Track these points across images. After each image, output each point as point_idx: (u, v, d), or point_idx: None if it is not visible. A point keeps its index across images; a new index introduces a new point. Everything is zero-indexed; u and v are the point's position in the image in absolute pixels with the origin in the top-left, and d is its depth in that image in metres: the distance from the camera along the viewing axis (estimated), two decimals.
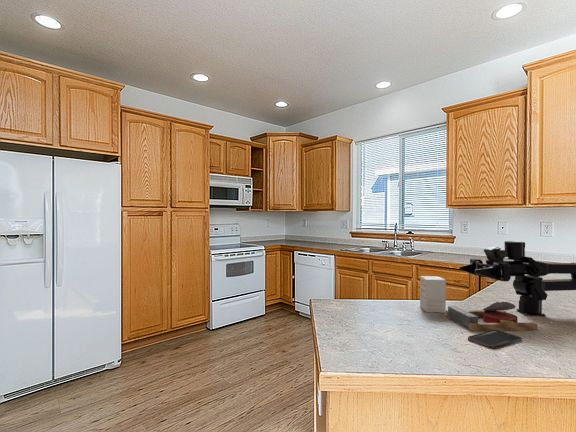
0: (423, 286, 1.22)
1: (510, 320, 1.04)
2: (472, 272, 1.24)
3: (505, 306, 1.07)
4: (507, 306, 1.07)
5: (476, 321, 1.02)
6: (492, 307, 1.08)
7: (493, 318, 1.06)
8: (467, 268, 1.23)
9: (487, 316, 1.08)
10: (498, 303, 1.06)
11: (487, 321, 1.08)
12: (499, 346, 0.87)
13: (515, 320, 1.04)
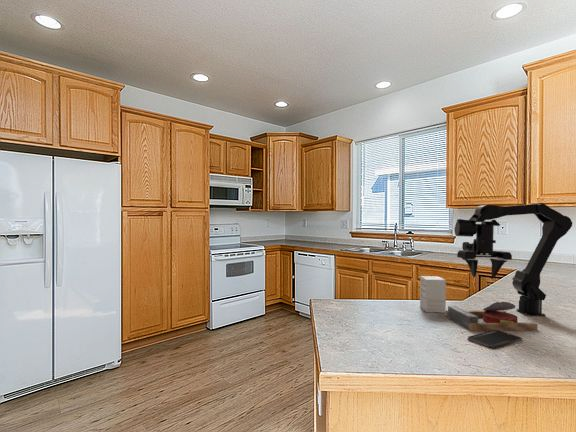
0: (423, 286, 1.22)
1: (510, 320, 1.04)
2: (497, 264, 1.21)
3: (505, 306, 1.07)
4: (507, 306, 1.07)
5: (476, 321, 1.02)
6: (492, 307, 1.08)
7: (493, 318, 1.06)
8: (493, 269, 1.23)
9: (487, 316, 1.08)
10: (498, 303, 1.06)
11: (487, 321, 1.08)
12: (499, 346, 0.87)
13: (515, 320, 1.04)
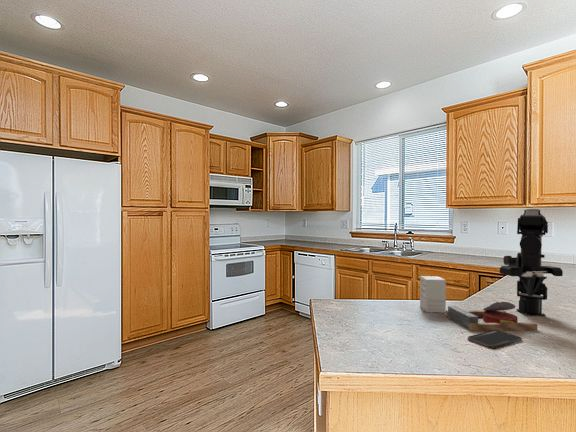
0: (423, 286, 1.22)
1: (510, 320, 1.04)
2: (536, 281, 1.08)
3: (505, 306, 1.07)
4: (507, 306, 1.07)
5: (476, 321, 1.02)
6: (492, 307, 1.08)
7: (493, 318, 1.06)
8: None
9: (487, 316, 1.08)
10: (498, 304, 1.06)
11: (487, 321, 1.08)
12: (499, 346, 0.87)
13: (515, 320, 1.04)
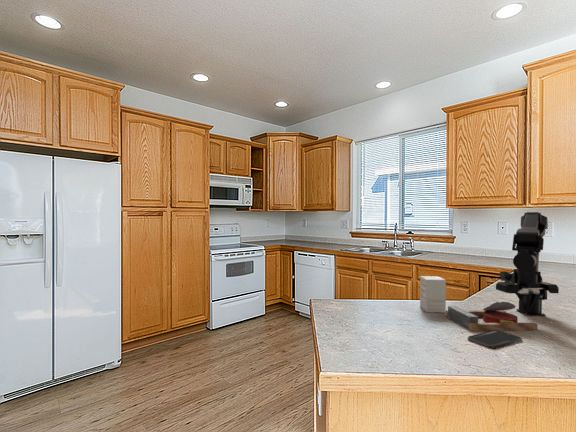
0: (423, 286, 1.22)
1: (510, 320, 1.04)
2: (532, 298, 1.08)
3: (505, 306, 1.07)
4: (507, 306, 1.07)
5: (476, 321, 1.02)
6: (492, 307, 1.08)
7: (493, 318, 1.06)
8: None
9: (487, 316, 1.08)
10: (498, 304, 1.06)
11: (487, 321, 1.08)
12: (499, 346, 0.88)
13: (515, 320, 1.04)
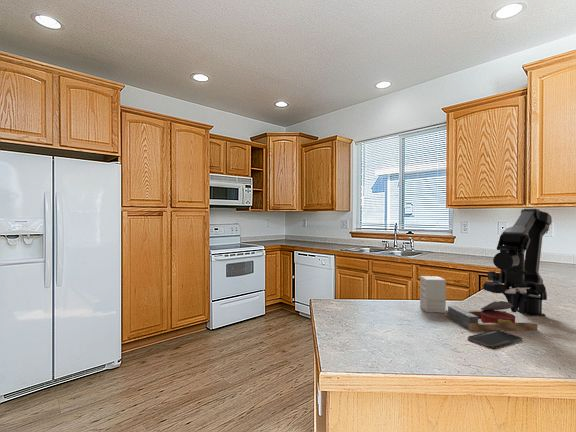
0: (423, 286, 1.22)
1: (508, 319, 1.04)
2: (519, 298, 1.07)
3: (503, 305, 1.07)
4: (505, 305, 1.07)
5: (476, 321, 1.02)
6: (490, 306, 1.08)
7: (491, 317, 1.06)
8: None
9: (485, 315, 1.08)
10: (496, 303, 1.06)
11: (485, 320, 1.08)
12: (499, 346, 0.88)
13: (513, 319, 1.04)
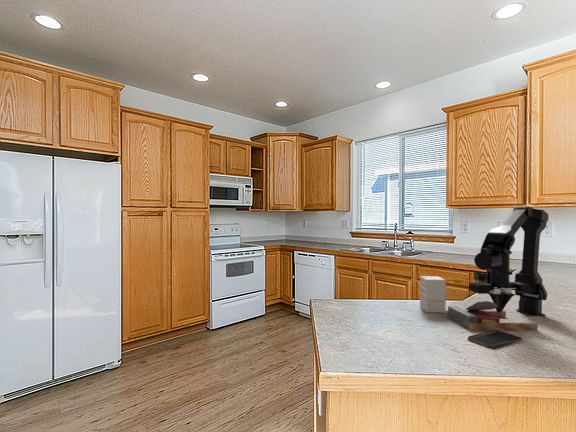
0: (423, 286, 1.22)
1: (492, 320, 1.04)
2: (504, 298, 1.07)
3: (487, 305, 1.07)
4: (489, 305, 1.07)
5: (476, 321, 1.02)
6: (475, 307, 1.08)
7: None
8: None
9: None
10: (480, 303, 1.06)
11: None
12: (499, 346, 0.88)
13: (497, 319, 1.04)
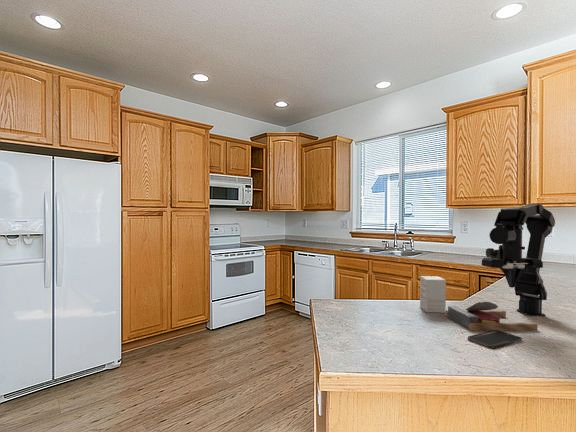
0: (423, 286, 1.22)
1: (492, 320, 1.04)
2: (517, 273, 1.09)
3: (487, 306, 1.07)
4: (489, 306, 1.07)
5: (476, 321, 1.02)
6: (474, 307, 1.08)
7: None
8: None
9: None
10: (480, 304, 1.06)
11: None
12: (499, 346, 0.88)
13: (497, 320, 1.04)
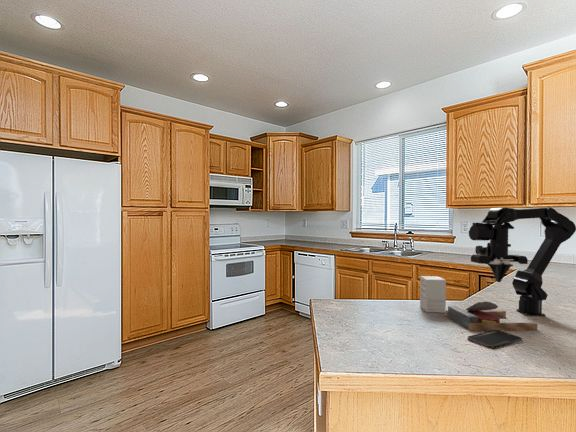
0: (423, 286, 1.22)
1: (492, 320, 1.04)
2: (503, 268, 1.17)
3: (487, 306, 1.07)
4: (489, 306, 1.07)
5: (476, 321, 1.02)
6: (475, 307, 1.08)
7: None
8: None
9: None
10: (480, 303, 1.06)
11: None
12: (499, 346, 0.88)
13: (497, 320, 1.04)
